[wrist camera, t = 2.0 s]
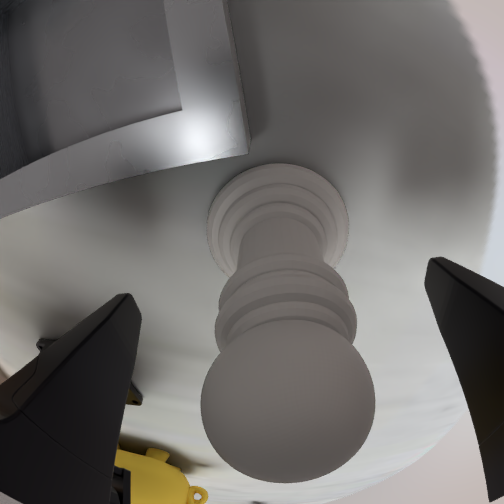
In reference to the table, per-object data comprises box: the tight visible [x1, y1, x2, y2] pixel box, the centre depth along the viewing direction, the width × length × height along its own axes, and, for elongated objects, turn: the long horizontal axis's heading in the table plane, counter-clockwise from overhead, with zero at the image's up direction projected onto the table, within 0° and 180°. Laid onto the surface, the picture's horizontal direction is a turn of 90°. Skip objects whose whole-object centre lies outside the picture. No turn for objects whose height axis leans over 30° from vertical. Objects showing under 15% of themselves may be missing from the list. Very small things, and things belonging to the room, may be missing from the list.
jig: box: [0, 0, 251, 219], centre depth 6 cm, size 11×11×2 cm
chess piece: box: [201, 163, 375, 483], centre depth 7 cm, size 5×5×9 cm
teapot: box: [114, 444, 208, 504], centre depth 21 cm, size 14×20×13 cm
